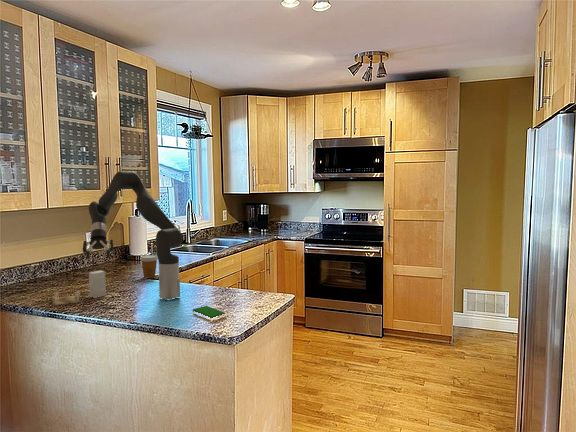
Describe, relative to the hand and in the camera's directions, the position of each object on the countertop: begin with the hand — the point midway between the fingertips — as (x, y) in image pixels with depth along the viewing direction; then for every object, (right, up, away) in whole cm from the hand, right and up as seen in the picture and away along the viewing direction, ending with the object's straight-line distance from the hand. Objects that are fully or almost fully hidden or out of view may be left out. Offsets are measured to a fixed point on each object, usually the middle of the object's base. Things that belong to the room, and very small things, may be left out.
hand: (98, 258), depth 207 cm
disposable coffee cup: (+16, -14, +29) cm, 36 cm away
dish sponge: (+63, -21, -35) cm, 75 cm away
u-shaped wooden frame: (-7, -18, -16) cm, 25 cm away
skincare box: (+4, -18, -9) cm, 20 cm away
